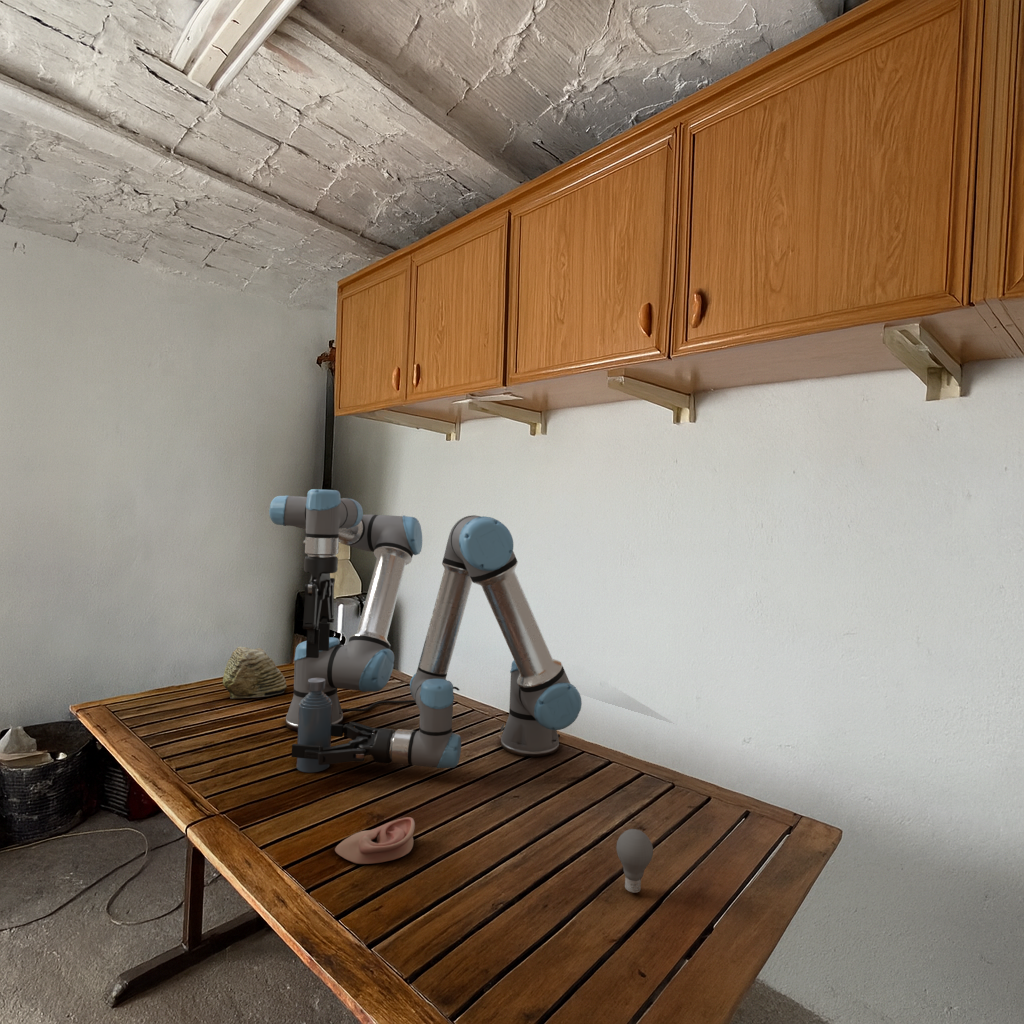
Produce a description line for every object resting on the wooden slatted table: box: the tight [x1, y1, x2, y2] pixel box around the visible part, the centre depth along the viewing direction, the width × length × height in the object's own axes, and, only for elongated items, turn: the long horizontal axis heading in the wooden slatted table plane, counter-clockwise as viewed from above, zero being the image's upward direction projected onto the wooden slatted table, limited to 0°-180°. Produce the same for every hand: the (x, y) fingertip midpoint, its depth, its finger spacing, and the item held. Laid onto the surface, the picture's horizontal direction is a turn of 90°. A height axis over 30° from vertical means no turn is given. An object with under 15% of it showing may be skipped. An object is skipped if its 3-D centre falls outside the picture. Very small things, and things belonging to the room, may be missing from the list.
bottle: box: [296, 690, 332, 774], centre depth 149 cm, size 8×8×20 cm
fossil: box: [222, 646, 288, 699], centre depth 198 cm, size 9×18×15 cm, turn 132°
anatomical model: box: [334, 816, 416, 865], centre depth 115 cm, size 13×4×12 cm
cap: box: [307, 678, 326, 691], centre depth 148 cm, size 4×4×2 cm
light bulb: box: [615, 828, 654, 894], centre depth 106 cm, size 6×6×10 cm
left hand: (317, 653), depth 148 cm, fingers open, 6 cm apart
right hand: (305, 739), depth 148 cm, fingers open, 13 cm apart
